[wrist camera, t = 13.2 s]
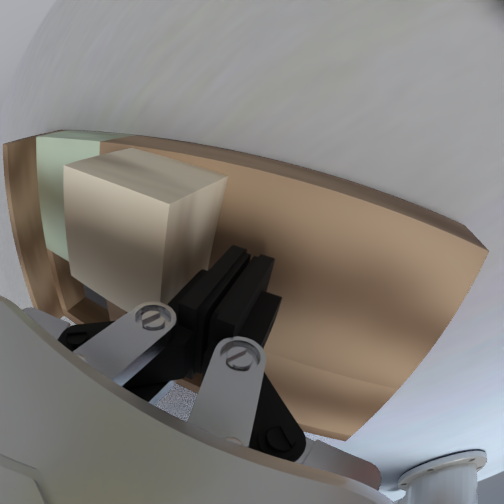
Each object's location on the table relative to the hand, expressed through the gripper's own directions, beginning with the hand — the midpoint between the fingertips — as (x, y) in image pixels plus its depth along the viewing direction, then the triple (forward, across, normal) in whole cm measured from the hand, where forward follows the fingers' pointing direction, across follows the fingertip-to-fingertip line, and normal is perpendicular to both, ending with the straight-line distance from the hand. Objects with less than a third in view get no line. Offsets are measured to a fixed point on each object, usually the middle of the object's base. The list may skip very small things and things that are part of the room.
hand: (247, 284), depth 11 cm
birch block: (+1, +5, -1) cm, 5 cm away
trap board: (+4, +4, +4) cm, 7 cm away
